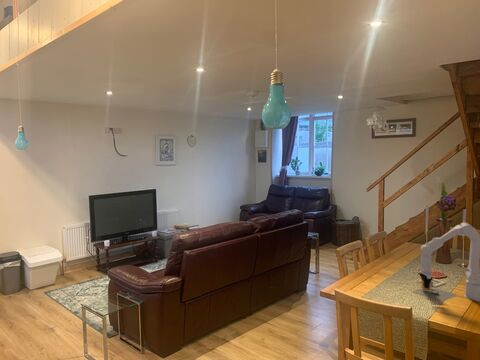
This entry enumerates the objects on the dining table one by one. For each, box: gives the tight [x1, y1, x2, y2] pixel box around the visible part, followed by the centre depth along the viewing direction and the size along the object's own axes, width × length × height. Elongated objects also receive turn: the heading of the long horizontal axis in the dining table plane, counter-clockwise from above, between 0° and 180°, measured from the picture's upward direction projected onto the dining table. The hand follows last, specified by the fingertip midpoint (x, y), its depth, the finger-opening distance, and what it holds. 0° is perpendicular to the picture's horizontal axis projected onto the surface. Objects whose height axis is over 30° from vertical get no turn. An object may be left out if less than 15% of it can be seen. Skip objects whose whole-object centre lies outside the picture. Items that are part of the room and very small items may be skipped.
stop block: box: [420, 278, 430, 290], centre depth 222 cm, size 4×4×5 cm
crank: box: [430, 281, 439, 295], centre depth 221 cm, size 10×4×5 cm, turn 167°
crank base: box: [412, 287, 458, 303], centre depth 218 cm, size 18×18×1 cm
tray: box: [418, 278, 446, 288], centre depth 236 cm, size 11×11×2 cm
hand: (425, 286), depth 222 cm, fingers closed on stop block, 4 cm apart
